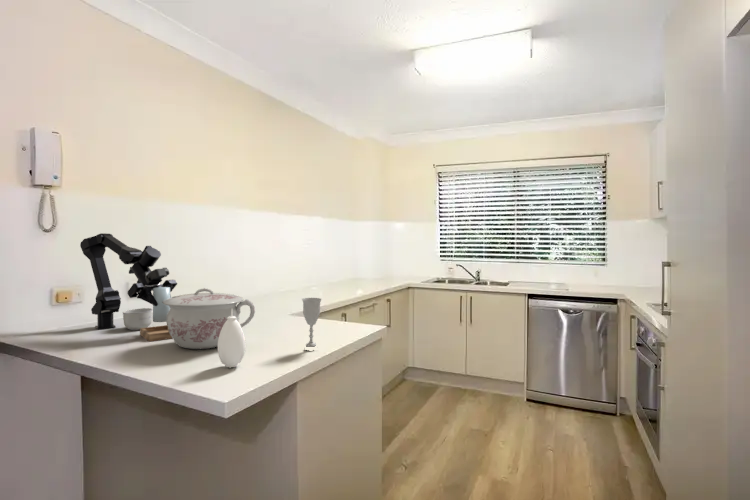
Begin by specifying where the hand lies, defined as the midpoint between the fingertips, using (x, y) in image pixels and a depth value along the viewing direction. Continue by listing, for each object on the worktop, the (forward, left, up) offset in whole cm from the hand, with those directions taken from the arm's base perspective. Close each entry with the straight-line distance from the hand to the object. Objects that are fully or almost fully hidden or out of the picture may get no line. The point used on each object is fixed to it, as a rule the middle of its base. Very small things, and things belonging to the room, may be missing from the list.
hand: (163, 304), depth 163 cm
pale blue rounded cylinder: (-1, -1, -7) cm, 7 cm away
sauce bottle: (+54, +5, -13) cm, 55 cm away
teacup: (-22, -3, -13) cm, 26 cm away
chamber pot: (+23, +8, -13) cm, 27 cm away
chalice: (+52, +35, -13) cm, 64 cm away
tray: (-1, 0, -13) cm, 13 cm away
